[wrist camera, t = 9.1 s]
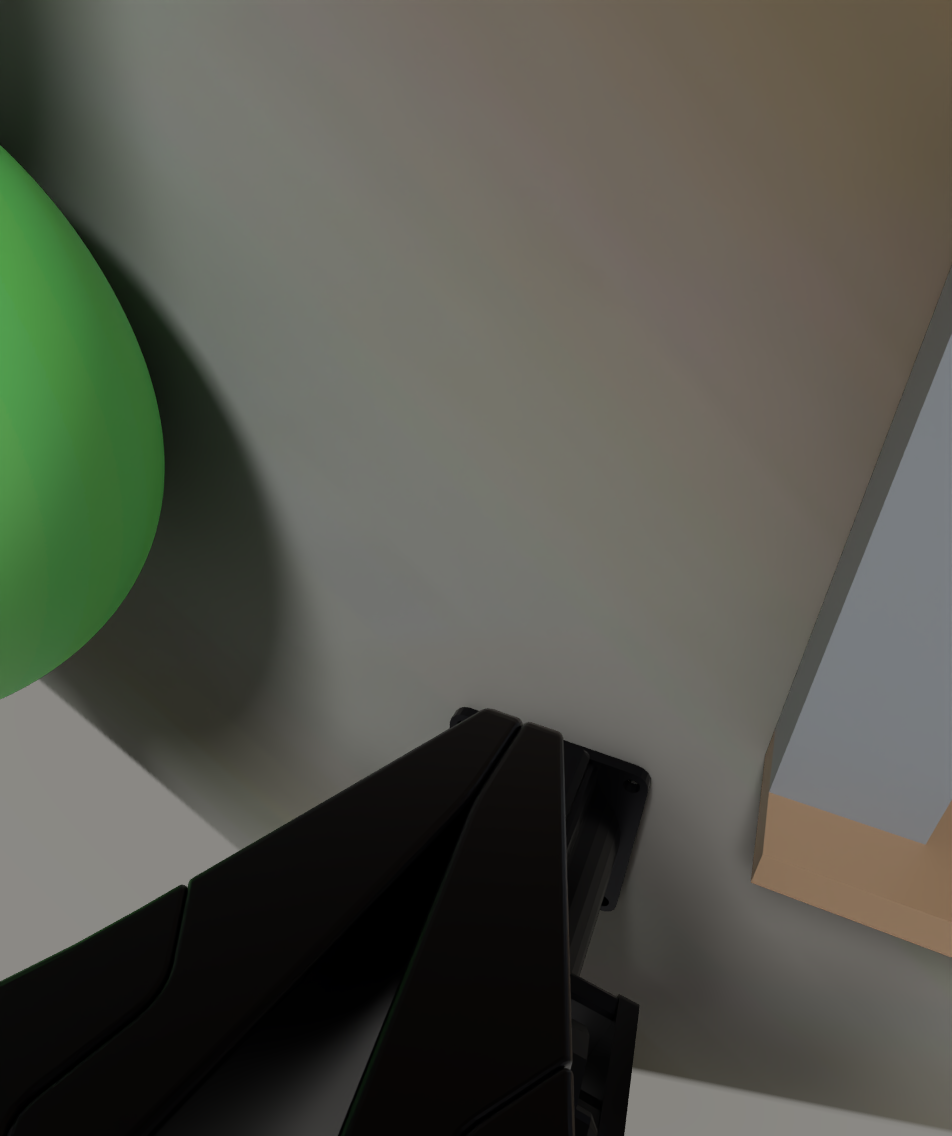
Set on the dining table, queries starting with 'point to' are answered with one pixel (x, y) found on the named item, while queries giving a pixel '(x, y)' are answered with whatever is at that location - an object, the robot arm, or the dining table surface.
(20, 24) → the dining table surface
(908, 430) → the box
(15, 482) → the toy bird
